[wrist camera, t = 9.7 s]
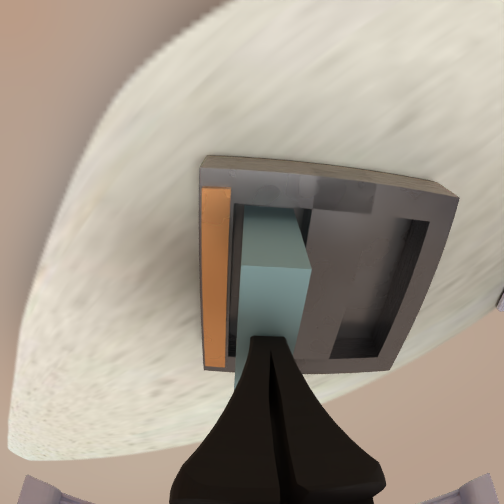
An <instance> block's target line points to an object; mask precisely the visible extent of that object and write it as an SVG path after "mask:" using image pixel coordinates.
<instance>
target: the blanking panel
mask: <svg viewBox="0 0 504 504" xmlns="http://www.w3.org/2000/svg"><path fill="white" fill-rule="evenodd" d="M311 270H312V268H311V265H310V262H309V258H308V255H307V252H306V248H305V245H304V242H303V238H302V235H301V232H300V229H299V225H298V222H297V219H296V216H295V213H294V210H293V209H290V208H277V207H263V206H247V205H245V206H244V222H243V238H242V254H241V270H240V287H239V305H238V322H237V342H236V362H235V384H234V390H235V388H236V386H237V384H238V381H239V379H240V377H241V374H242V371H243V369H244V366H245V363H246V360H247V356H248V352H249V346H250V337H252V336H253V335H255V336H283V337H285V338H286V340H287V343H288V346H289V348H290V351H291V353H292V355H293V353H294V349H295V345H296V340H297V336H298V332H299V327H300V323H301V318H302V314H303V309H304V304H305V300H306V295H307V290H308V285H309V280H310V275H311Z"/></svg>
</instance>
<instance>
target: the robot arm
mask: <svg viewBox="0 0 504 504" xmlns="http://www.w3.org/2000/svg"><path fill="white" fill-rule="evenodd" d="M497 309H498V310H499V311H504V293H503V295H502V297H501V299H500V301H499V303H498V305H497ZM385 486H386V481H385V477H384V474H383V471H382V469H381V466H380V464H379V462H378V461H376V460H375V459H374V458H372V457H371V456H370V455H369V454H367V453H366V452H365V451H364V450H363V449H361V448H360V447H359V446H358V445H357V444H356V443H355V442H354V441H353V440H351V439H350V438H349V437H348V435H347V434H346V433H345V432H344V431H343V430H342V429H341V428H340V427H339V426H338V425H337V424H336V423H335V422H334V421H333V419H332V418H331V417H330V416H329V414H328V413H327V412H326V411H325V409H324V408H323V407H322V405H321V404H320V402H319V401H318V400H317V398H316V397H315V395H314V394H313V392H312V390H311V389H310V387H309V386H308V384H307V382H306V381H305V379H304V377H303V375H302V373H301V371H300V370H299V368H298V366H297V364H296V362H295V360H294V357H293V355H292V353H291V351H290V348H289V346H288V343H287V340H286V338H285V337H283V336H255V335H253V336H252V337H250V346H249V352H248V356H247V360H246V363H245V366H244V369H243V371H242V374H241V377H240V379H239V381H238V384H237V386H236V388H235V390H234V393H233V395H232V397H231V399H230V400H229V402H228V404H227V406H226V408H225V410H224V411H223V413H222V415H221V416H220V418H219V419H218V421H217V423H216V424H215V426H214V427H213V429H212V430H211V431H210V433H209V434H208V435H207V437H206V438H205V439H204V441H203V442H202V443H201V445H200V446H199V447H198V448H197V450H196V451H195V452H194V453H193V454H192V455H191V456H190V457H189V459H188V460H187V461H186V462H185V463H184V464H183V465H182V467H181V469H180V471H179V472H178V474H177V476H176V478H175V480H174V482H173V485H172V487H171V491H170V500H169V504H374V502H373V497H374V496H375V495H376V494H378V493H379V492H381V491H382V490H383V489H384V488H385ZM17 504H94V503H90V502H88V501H84V500H81V499H79V498H75V497H73V496H70V495H67V494H65V493H62V492H61V491H60V490H59V489H57V488H56V487H54V486H52V485H50V484H48V483H46V482H43V481H41V480H38V479H36V478H34V477H32V476H29V475H26V477H25V480H24V483H23V487H22V490H21V493H20V496H19V500H18V503H17ZM418 504H499V501H498V498H497V495H496V492H495V488H494V485H493V482H492V480H491V476H490V474H489V473H487V474H485V475H482V476H480V477H478V478H476V479H474V480H471V481H469V482H468V483H466V484H464V485H463V486H461V487H460V488H459V489H457V490H455V491H452V492H449V493H447V494H444V495H441V496H438V497H436V498H433V499H430V500H427V501H424V502H421V503H418Z"/></svg>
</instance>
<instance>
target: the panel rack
mask: <svg viewBox="0 0 504 504" xmlns="http://www.w3.org/2000/svg"><path fill="white" fill-rule="evenodd" d="M459 199H460V198H459V197H458V196H456V195H455V194H454V193H452V192H451V191H449V190H448V189H446V188H445V187H443V186H442V185H440V184H439V183H437V182H432V181H427V180H422V179H417V178H411V177H406V176H400V175H394V174H388V173H382V172H376V171H369V170H363V169H356V168H348V167H341V166H333V165H324V164H316V163H306V162H296V161H286V160H274V159H261V158H246V157H228V156H207V157H206V158H205V160H204V161H203V163H202V165H201V166H200V170H199V260H200V300H201V326H202V347H203V365H204V370H208V371H222V372H235V362H236V342H237V322H238V305H239V287H240V270H241V254H242V238H243V222H244V206H245V205H247V206H263V207H277V208H290V209H293V210H294V213H295V216H296V219H297V222H298V225H299V229H300V232H301V235H302V238H303V242H304V245H305V248H306V252H307V255H308V258H309V262H310V265H311V268H312V270H311V275H310V280H309V285H308V290H307V295H306V300H305V304H304V309H303V314H302V318H301V323H300V327H299V332H298V336H297V340H296V345H295V349H294V353H293V357H294V360H295V362H296V364H297V366H298V368H299V370H300V371H301V373H302V374H335V373H358V372H374V371H387V370H390V368H391V366H392V365H393V363H394V361H395V359H396V357H397V355H398V353H399V351H400V349H401V347H402V345H403V343H404V341H405V339H406V337H407V335H408V333H409V331H410V329H411V327H412V325H413V323H414V321H415V319H416V316H417V314H418V312H419V310H420V307H421V305H422V303H423V301H424V298H425V296H426V294H427V291H428V289H429V286H430V284H431V281H432V279H433V276H434V274H435V271H436V269H437V266H438V263H439V261H440V258H441V255H442V252H443V250H444V247H445V244H446V241H447V238H448V235H449V232H450V229H451V226H452V222H453V219H454V216H455V213H456V209H457V206H458V202H459Z"/></svg>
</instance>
